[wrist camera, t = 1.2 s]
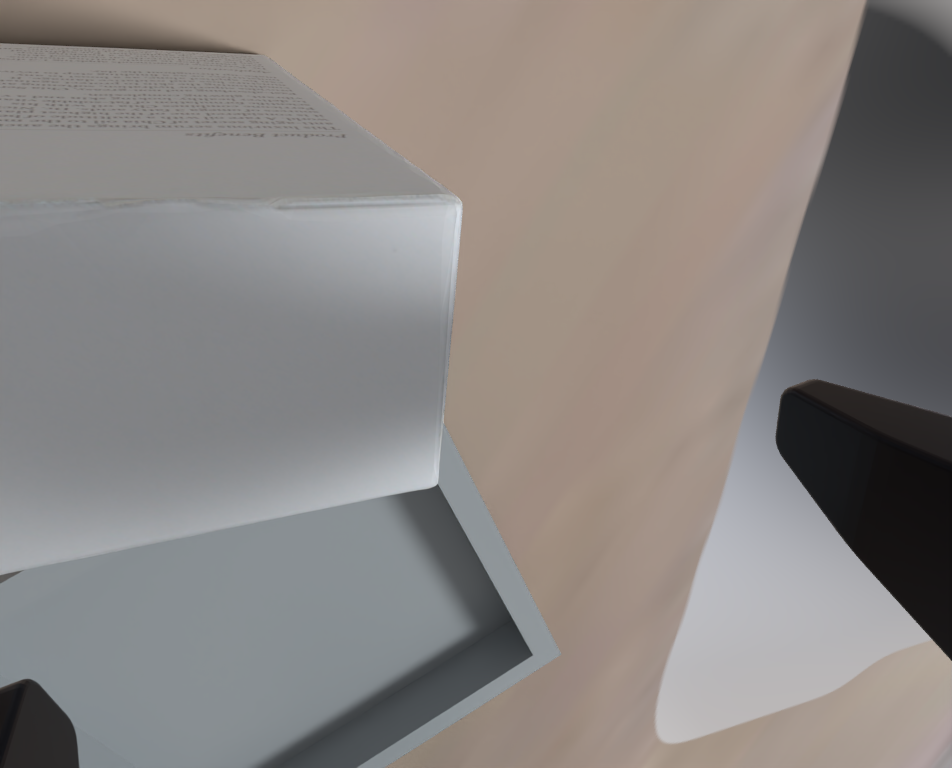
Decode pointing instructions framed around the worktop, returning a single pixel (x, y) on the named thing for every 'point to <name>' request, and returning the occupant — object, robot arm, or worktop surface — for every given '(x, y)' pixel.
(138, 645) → the tray
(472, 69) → the worktop surface
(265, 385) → the skincare box
